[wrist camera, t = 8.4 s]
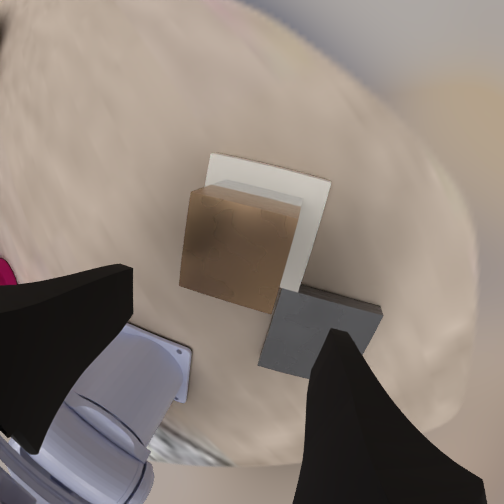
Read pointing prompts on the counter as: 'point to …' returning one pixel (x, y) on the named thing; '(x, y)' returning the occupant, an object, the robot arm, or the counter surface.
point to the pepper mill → (6, 274)
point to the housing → (238, 242)
